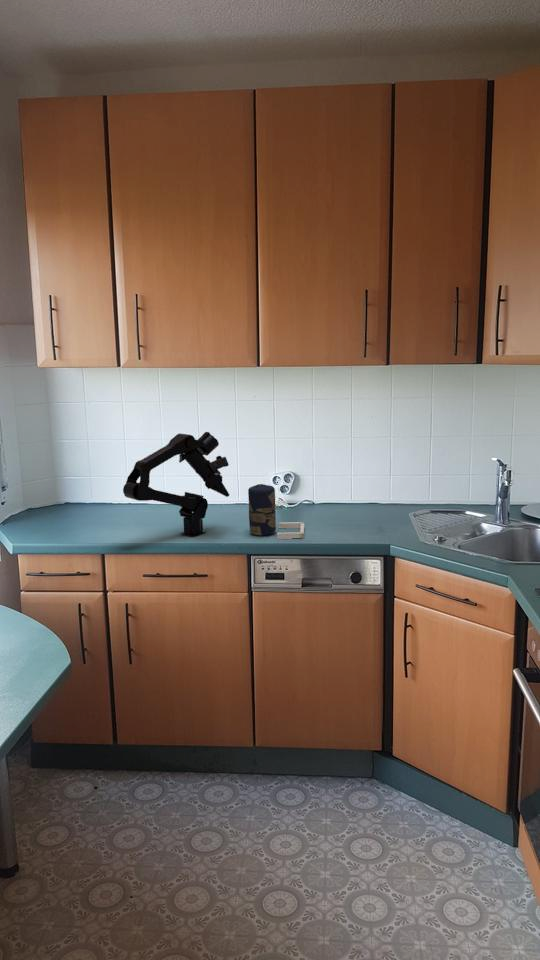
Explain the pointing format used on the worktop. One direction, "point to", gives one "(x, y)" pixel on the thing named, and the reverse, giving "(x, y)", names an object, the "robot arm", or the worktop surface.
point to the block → (291, 534)
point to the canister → (262, 509)
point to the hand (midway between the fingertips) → (228, 496)
